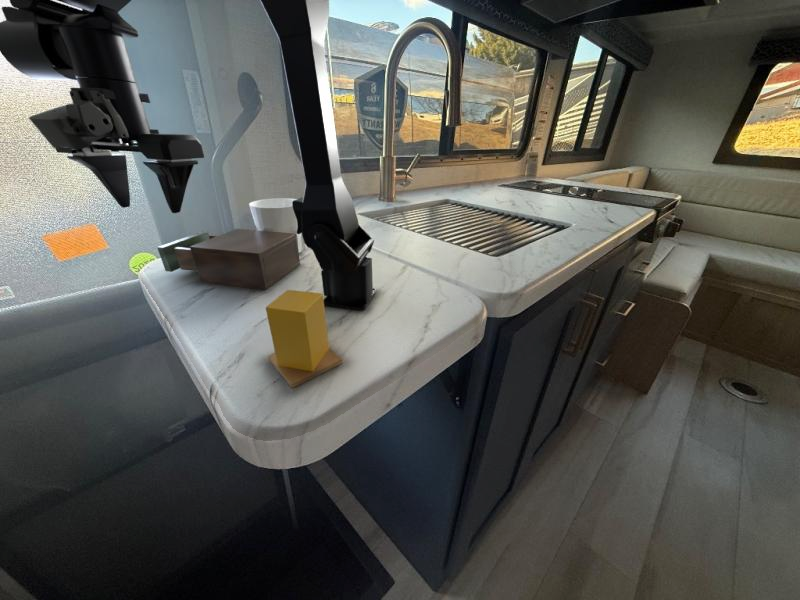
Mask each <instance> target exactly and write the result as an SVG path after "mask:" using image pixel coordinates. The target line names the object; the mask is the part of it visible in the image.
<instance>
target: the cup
mask: <svg viewBox="0 0 800 600" xmlns="http://www.w3.org/2000/svg"><path fill="white" fill-rule="evenodd" d="M297 199H298V198H291V197H275V198H274V197H273V198H264V199H263V198H262V199H258V200H253V201H251V202H249V203H248V206H249V209H250V213H251V216H252V219H253V222H254V226H255V228H256V229H255V230H258V231H270V232H282V233H294V234H296V238H297V245H298V252H299V254H300V253H301V252H303V251H305V250H306V244H305V242H304V240H303V237H302V233H300V234H297V228H298V225H297V219H296V216H295V213H294V210H293V205H292V202H293V201H294V200H297Z"/></svg>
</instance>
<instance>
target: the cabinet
mask: <svg viewBox="0 0 800 600" xmlns="http://www.w3.org/2000/svg"><path fill="white" fill-rule="evenodd" d="M218 235H219V236H217V237H214V238H211V239H209V240H206V241H204V242H201V243H198V244H196V245H193V246H190V249H191V251H192V255H193V259H194V262H195V265H196V268H197V271H196V272H197V275H198V278H199V281H200V283H206V284H212V285H213V284H215V285H223V286H230V287H231V286H232V287H239V288H246V289H247V288H248V289H254V290H255V289H256V290H262V291H263V290H264V291H267V290H268V289H270V288H271V287H272V286H274V285H275V284H276V283H278V282H279V281H281V280H282V279H284V278H285V277H286V276H287V275H289V274H290V273H291V272H293V271H294V270H296V269H297V268H299V267H300V266H301V260H300V253H299V252H298V245H297V238H296V234H294V233H282V232H270V231H258V230H257V229H245V228H234V229H232V230H230V231H228V232H224V233H222V234H218Z"/></svg>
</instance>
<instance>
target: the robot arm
mask: <svg viewBox="0 0 800 600" xmlns="http://www.w3.org/2000/svg"><path fill="white" fill-rule="evenodd" d="M131 1H132V0H9V3H10V6H1V11H2V13H3V15H4V16H3V17H4V18H5V20H3V21H1V22H0V53H1V55H2V56H3V57H4V59H5V60H6V61H7V62H8V63H9V64H10V65H11V66H12V67H13V68H14V69H16V70H17V71H18V72H20V73H22V74H23V75H25V76H27V77H29V78H32V79H35V80H40V81H41V80H45V81H46V80H47V81H48V80H49V81H76V82H77V84H78V87H69V89H70V91H69V95H70V98H71V102H72V103H67V104H64V105H60V106H56V107H54V108H51V109H47V110H45V111H42V112H39V113H36V114H33V115H30V116H28V120H29V121H30V122H31V123H32V125H33V126H34V127H35V128H36V129H37V130H38V131H39V133H40V134H41V135H42V136H43V137H44V139H45V140H46V141H47V142H48V143H49V145H50V146H51V147H52V148H53V149H55V152H56V153H58V154H59V153H61V154H71V155H66V158H67V159H69V160H70V161H74V162H76V163H77V164H80V165H82V166H83V167H85V168H87V169H88V170H90V171H91V172H92V173H93V174H94V176H95V177H96V178H97V179H98V180H99V181H100V183H101V184H102V185H103V186H104V188H105V189H106V190H107V191H108V193H109V194H110V195H111V196H112V198H113V199H114V200H115V202H116V203H117V204H118V205H119V207H120V208H123V209H125V208H129V207H130V206H131V193H130V184H129V183H130V182H129V174H128V173H129V172H128V164H127V163H128V162H127V155H126V154H117V152H119V153H120V152H129V153H131V152H132V153H141V154H142V155H143V156H144V157H145V158H146V159H147V160H150V161H142V164H144V166H146V167H147V168H148V169H150V171H151V172H153V173H154V174H155V175H156V176H157V179H158V182H159V185H160V188H161V191H162V193H163V196H164V198H165V201H166V204H167V206H168V208H169V210H170V211H171V213H172V214H179V213H181V210H182V207H183V202H184V198H185V195H186V190H187V186H188V183H189V180H190V177H191V174H192V171H193V168H194V166H196V165H199V160H198V159H205V155H204V150H203V146H202V141H200V139H198V137H196V135H194V134H181V133H180V134H179V133H160V131H159V129H153V128H152V129H151V127H150V124H149V120H148V117H147V114H146V111H145V107H144V104H151V100H150V97H149V94H148V93H144V92H143V93H142V92H140V90H139V86H138V84H137V79H136V77H135V73H134V69H133V67H132V63H131V60H130V57H129V54H128V49H127V46H126V44H125V40H124V38H138V37H139V35H140V34H139V31H138V30H137V29H136V28H135V27H133V26H132V25H131V24H130V23H129V22H127V21H126V20H125V19H124V18H123V17H122V16H121V15H120V13H119V12H120V11H122V10H123V9H124V8H125V7H126V6H127V5H128V4H129V3H130V2H131ZM259 2H260V4H261V6H262V8H263V10H264V12H265V14H266V16H267V18H268V20H269V23H270V24H271V26H272V28H273V30H274V32H275V35H276V37H277V39H278V43H279V47H280V52H281V58H282V63H283V68H284V73H285V79H286V85H287V90H288V95H289V100H290V105H291V110H292V118H293V123H294V127H295V133H296V138H297V139H296V140H297V144H298V149H299V155H300V160H301V166H302V171H303V176H304V184H305V185H304V192H303V196H301V197H299V198H296V199H297V200H294V201H293V202H292V205H293V210H294V213H295V216H296V219H297V225H298V228H297V234H300V233H302V237H303V240H304V242H305V247H307V249H310V250H311V251H312V252H313V254H314V257H315V259H316V261H317V263H318V265H319V267H320V269H321V272H320V273H321V282H322V283H321V284H322V292H323V293H322V294H323V297H324V298H323V300H324V307H333V308H341V309H349V310H355V311H356V310H357V311H364V310H366V308H367V307H368V306H369V304H370V302H371V301H372V299H373V298H374V297H375V295H376V293H377V288H376V287H373V285H374V284H373V258H372V257H367V256H368V254H370V253H371V251H372V248H373V246H374V243H375V238H373V236H371V234H369V232H368V231H367V230H366V229H365V228H364V227H363V226H362V225H361V224H360V223H359V219H358V216H357V212H356V208H355V205H354V202H353V199H352V197H351V194H350V193H349V190H348V189H347V187H346V185H345V183H344V180H343V177H342V171H341V164H340V157H339V155H340V154H339V148H338V142H337V134H336V126H335V120H334V112H333V104H332V96H331V90H330V83H329V75H328V67H327V59H326V52H325V39H326V33H327V29H328V23H329V18H330V0H259ZM112 152H114V153H112Z"/></svg>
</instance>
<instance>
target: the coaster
mask: <svg viewBox="0 0 800 600" xmlns="http://www.w3.org/2000/svg"><path fill="white" fill-rule="evenodd" d="M267 358H268V361H269V362H270V364H271V365H272V366H273V367H274V368H275V370H277V371H278V373H279V374H280V375H281V377H282V378H283V379H284V380H285V381H286V382H287V384H288V385H289V386H290V388H292V389H294V388H296V387H298V386H300V385H302V384H304V383H306V382H308V381H309V380H311V379H314V378H316V377H318V376H320V375H322V374H324V373H326V372H328V371H330V370H332V369H334V368H336V367H339V366H340V365H342V364H343V358H342V357H341V356H340V355H338V354H337V353H336V352H334V351H333V350H332V349H331V347H329V349H328V351H327V352H326V354H325V355H324V356H323V358H322V359H321V361H320V362H319V364H318V365H317V366H316V368H315V369H314V371H307V370H301V369H295V368H289V367H283V366H278V364H277V359H276V354H275V352H273V353H272V354H269V355H267Z"/></svg>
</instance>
